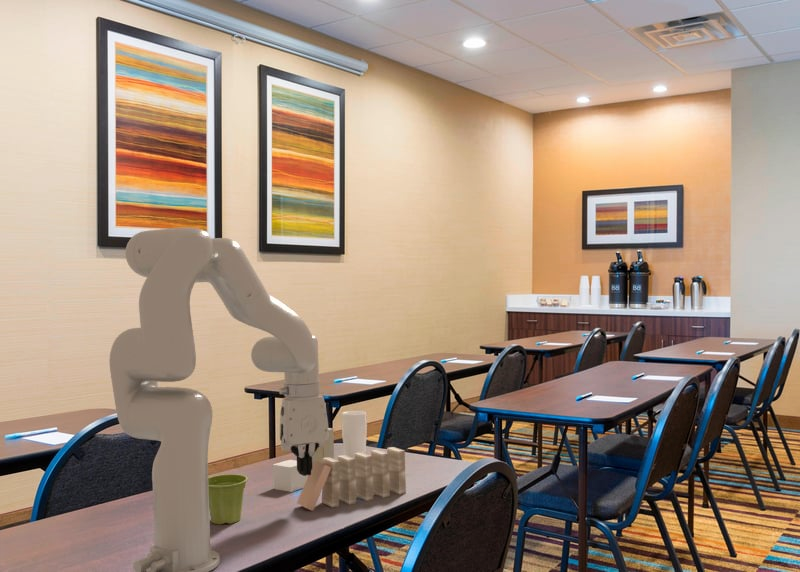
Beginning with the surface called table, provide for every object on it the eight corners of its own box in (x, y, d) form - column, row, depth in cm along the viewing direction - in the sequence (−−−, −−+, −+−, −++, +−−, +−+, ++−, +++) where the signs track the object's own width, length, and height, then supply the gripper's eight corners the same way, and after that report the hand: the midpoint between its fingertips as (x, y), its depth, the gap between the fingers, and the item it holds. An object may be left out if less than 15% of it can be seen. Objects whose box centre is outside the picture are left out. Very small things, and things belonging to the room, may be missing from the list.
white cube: (308, 486, 187) (307, 462, 187) (291, 492, 182) (290, 467, 182) (290, 483, 190) (289, 459, 190) (273, 489, 185) (272, 464, 185)
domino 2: (331, 507, 168) (332, 461, 168) (321, 502, 172) (322, 457, 172) (338, 506, 168) (340, 461, 169) (328, 501, 173) (330, 457, 173)
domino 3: (349, 504, 170) (348, 459, 170) (339, 499, 174) (337, 455, 174) (356, 503, 171) (355, 458, 171) (346, 498, 175) (344, 454, 175)
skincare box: (306, 474, 198) (305, 428, 198) (318, 471, 201) (317, 425, 201) (322, 478, 194) (321, 430, 194) (335, 474, 197) (334, 428, 197)
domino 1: (306, 508, 165) (324, 464, 167) (296, 503, 169) (315, 460, 172) (312, 510, 166) (331, 467, 168) (303, 505, 170) (321, 463, 172)
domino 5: (383, 497, 174) (381, 454, 174) (372, 492, 179) (371, 450, 179) (389, 496, 175) (388, 453, 175) (378, 491, 180) (377, 449, 180)
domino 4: (366, 501, 172) (365, 457, 172) (355, 496, 176) (354, 453, 176) (373, 499, 173) (371, 455, 173) (362, 494, 177) (361, 452, 177)
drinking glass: (340, 467, 205) (338, 411, 205) (364, 464, 207) (362, 409, 207) (345, 472, 199) (344, 415, 199) (370, 470, 201) (369, 413, 201)
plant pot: (258, 517, 162) (256, 476, 162) (227, 530, 154) (225, 487, 154) (225, 511, 167) (224, 472, 167) (193, 523, 159) (192, 482, 159)
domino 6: (399, 494, 177) (398, 451, 177) (388, 489, 181) (387, 447, 181) (405, 493, 178) (404, 450, 178) (394, 488, 182) (393, 446, 182)
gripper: (277, 396, 160) (280, 483, 160) (340, 389, 168) (342, 472, 168) (263, 392, 166) (266, 476, 166) (325, 385, 174) (327, 465, 174)
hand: (304, 474), depth 167 cm, fingers closed
